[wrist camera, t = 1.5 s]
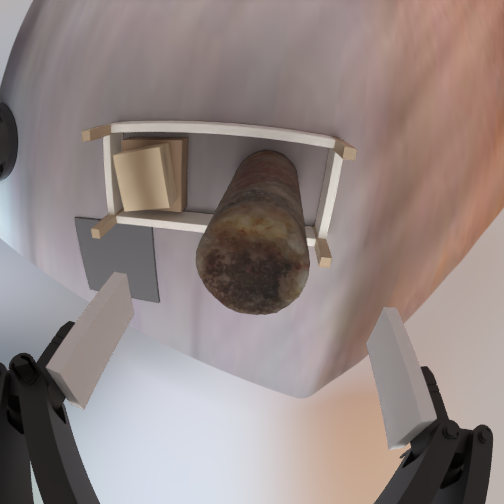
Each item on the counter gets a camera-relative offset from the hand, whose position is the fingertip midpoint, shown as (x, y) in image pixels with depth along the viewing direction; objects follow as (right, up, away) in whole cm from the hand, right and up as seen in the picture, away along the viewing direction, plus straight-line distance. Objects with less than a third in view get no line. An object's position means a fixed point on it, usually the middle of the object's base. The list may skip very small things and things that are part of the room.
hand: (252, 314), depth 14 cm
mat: (-22, +2, +28) cm, 36 cm away
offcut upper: (-12, +12, +19) cm, 25 cm away
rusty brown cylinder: (+2, +12, +21) cm, 24 cm away
